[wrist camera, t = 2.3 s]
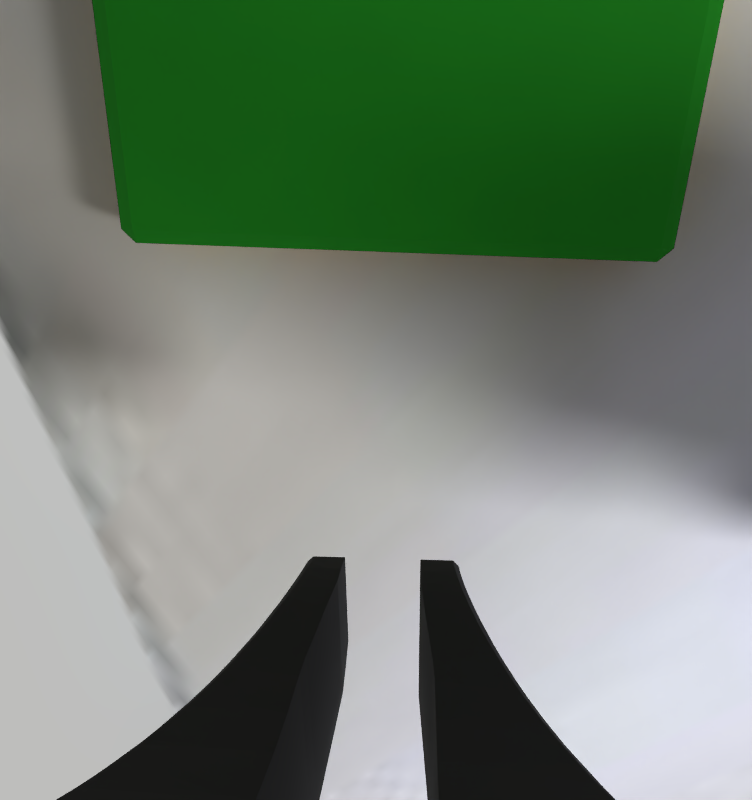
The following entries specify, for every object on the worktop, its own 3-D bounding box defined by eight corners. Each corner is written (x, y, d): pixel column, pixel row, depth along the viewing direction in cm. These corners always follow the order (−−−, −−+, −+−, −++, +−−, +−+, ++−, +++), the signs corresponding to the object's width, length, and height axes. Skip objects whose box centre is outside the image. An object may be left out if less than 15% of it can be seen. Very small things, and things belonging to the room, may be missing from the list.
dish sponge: (125, -66, 16) (77, -96, 14) (698, -59, 15) (744, -89, 13) (156, 228, 19) (120, 242, 17) (642, 246, 18) (672, 263, 16)
